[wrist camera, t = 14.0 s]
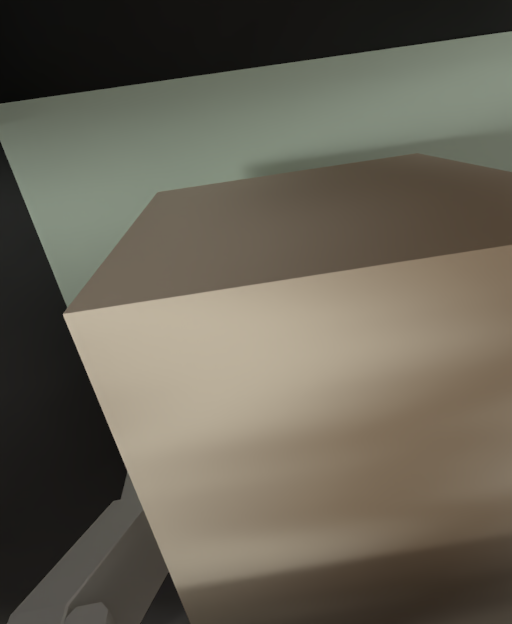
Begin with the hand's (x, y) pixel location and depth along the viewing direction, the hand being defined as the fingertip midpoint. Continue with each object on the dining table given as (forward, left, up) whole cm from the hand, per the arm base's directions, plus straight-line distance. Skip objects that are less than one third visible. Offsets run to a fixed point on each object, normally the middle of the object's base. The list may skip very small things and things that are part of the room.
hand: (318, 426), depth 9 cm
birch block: (0, -6, +1) cm, 7 cm away
